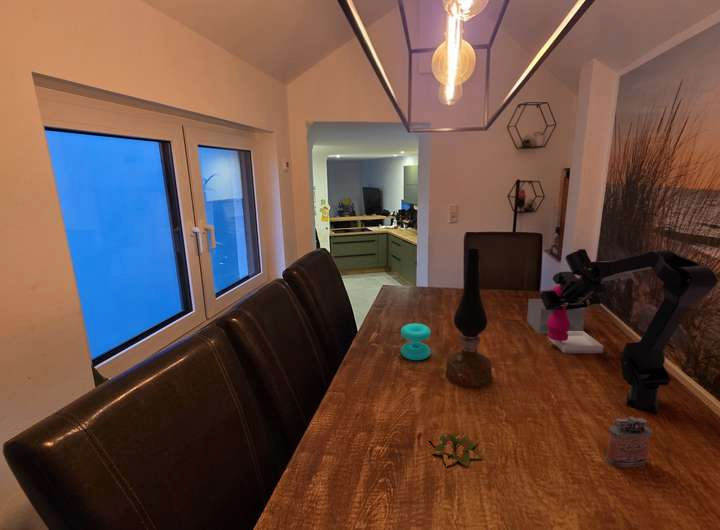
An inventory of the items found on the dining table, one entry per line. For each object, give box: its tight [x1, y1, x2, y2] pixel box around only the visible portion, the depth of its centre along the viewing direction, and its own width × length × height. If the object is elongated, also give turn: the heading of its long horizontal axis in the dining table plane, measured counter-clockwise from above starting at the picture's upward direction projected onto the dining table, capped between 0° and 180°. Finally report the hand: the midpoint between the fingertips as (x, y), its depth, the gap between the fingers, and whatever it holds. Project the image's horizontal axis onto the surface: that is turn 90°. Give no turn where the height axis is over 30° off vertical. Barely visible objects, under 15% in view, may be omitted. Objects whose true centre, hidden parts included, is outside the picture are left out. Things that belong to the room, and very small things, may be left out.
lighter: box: [605, 415, 653, 468], centre depth 76 cm, size 8×3×10 cm, turn 92°
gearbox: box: [526, 298, 586, 335], centre depth 144 cm, size 12×16×13 cm
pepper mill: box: [547, 284, 570, 341], centre depth 127 cm, size 7×7×20 cm
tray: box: [547, 330, 604, 354], centre depth 130 cm, size 13×13×2 cm
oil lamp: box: [444, 248, 493, 389], centre depth 112 cm, size 14×15×40 cm
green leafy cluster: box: [433, 427, 484, 469], centre depth 82 cm, size 12×12×5 cm
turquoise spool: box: [400, 323, 432, 361], centre depth 126 cm, size 10×10×10 cm
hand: (557, 309), depth 128 cm, fingers closed on pepper mill, 5 cm apart
